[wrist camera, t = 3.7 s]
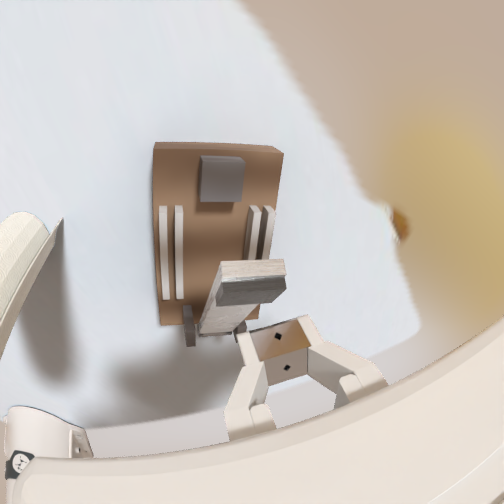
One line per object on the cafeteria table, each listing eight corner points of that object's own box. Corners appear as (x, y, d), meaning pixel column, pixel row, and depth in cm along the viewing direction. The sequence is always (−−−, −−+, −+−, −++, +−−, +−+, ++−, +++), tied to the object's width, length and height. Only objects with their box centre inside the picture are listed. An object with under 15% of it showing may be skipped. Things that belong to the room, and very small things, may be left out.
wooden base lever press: (250, 301, 34) (267, 342, 28) (160, 306, 31) (162, 351, 26) (272, 146, 25) (301, 164, 20) (155, 142, 23) (150, 159, 17)
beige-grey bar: (228, 323, 28) (230, 339, 28) (197, 325, 27) (199, 342, 27) (282, 255, 15) (288, 286, 14) (220, 257, 14) (224, 290, 13)
